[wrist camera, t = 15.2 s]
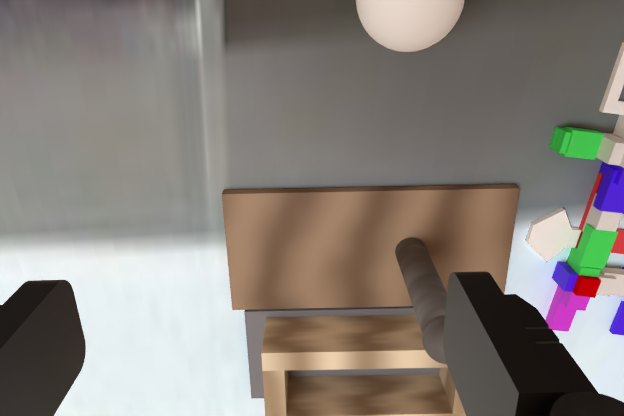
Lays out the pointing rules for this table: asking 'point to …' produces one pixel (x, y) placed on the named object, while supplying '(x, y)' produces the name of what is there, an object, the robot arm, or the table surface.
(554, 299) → the building block set
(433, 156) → the table surface
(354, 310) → the grey rubber mat
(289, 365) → the open wooden box
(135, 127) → the table surface
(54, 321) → the robot arm
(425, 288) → the walnut post stand
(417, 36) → the lightbulb
